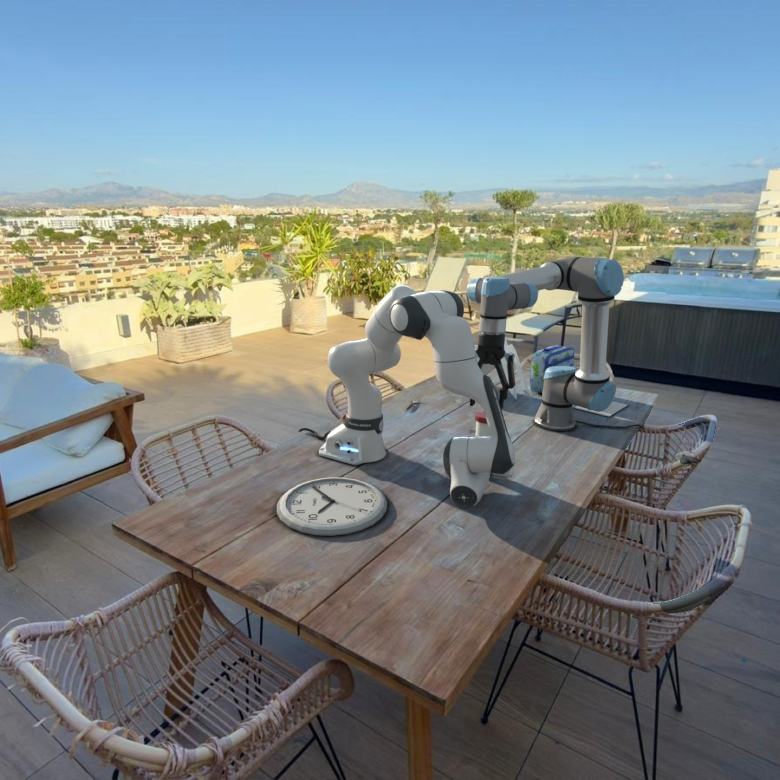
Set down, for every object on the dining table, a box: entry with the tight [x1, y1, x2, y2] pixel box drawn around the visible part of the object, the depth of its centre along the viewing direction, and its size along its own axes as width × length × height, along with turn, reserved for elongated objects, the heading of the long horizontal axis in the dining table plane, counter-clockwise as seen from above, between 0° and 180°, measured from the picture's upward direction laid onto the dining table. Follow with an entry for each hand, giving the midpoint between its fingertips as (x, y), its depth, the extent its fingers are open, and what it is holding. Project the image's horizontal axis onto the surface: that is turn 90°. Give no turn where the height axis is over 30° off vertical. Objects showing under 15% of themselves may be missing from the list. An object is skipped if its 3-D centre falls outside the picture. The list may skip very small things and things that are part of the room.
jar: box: [474, 420, 491, 437], centre depth 160 cm, size 5×5×19 cm
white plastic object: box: [475, 336, 531, 400], centre depth 245 cm, size 37×45×31 cm
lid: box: [474, 410, 488, 424], centre depth 158 cm, size 6×6×2 cm
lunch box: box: [529, 345, 575, 394], centre depth 245 cm, size 26×11×21 cm, turn 134°
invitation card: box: [573, 400, 629, 418], centre depth 226 cm, size 21×1×15 cm
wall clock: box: [276, 476, 388, 537], centre depth 142 cm, size 30×2×30 cm
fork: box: [406, 394, 421, 411], centre depth 223 cm, size 3×16×2 cm, turn 160°
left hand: (483, 453), depth 162 cm, fingers closed on jar, 5 cm apart
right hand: (486, 407), depth 157 cm, fingers open, 8 cm apart
